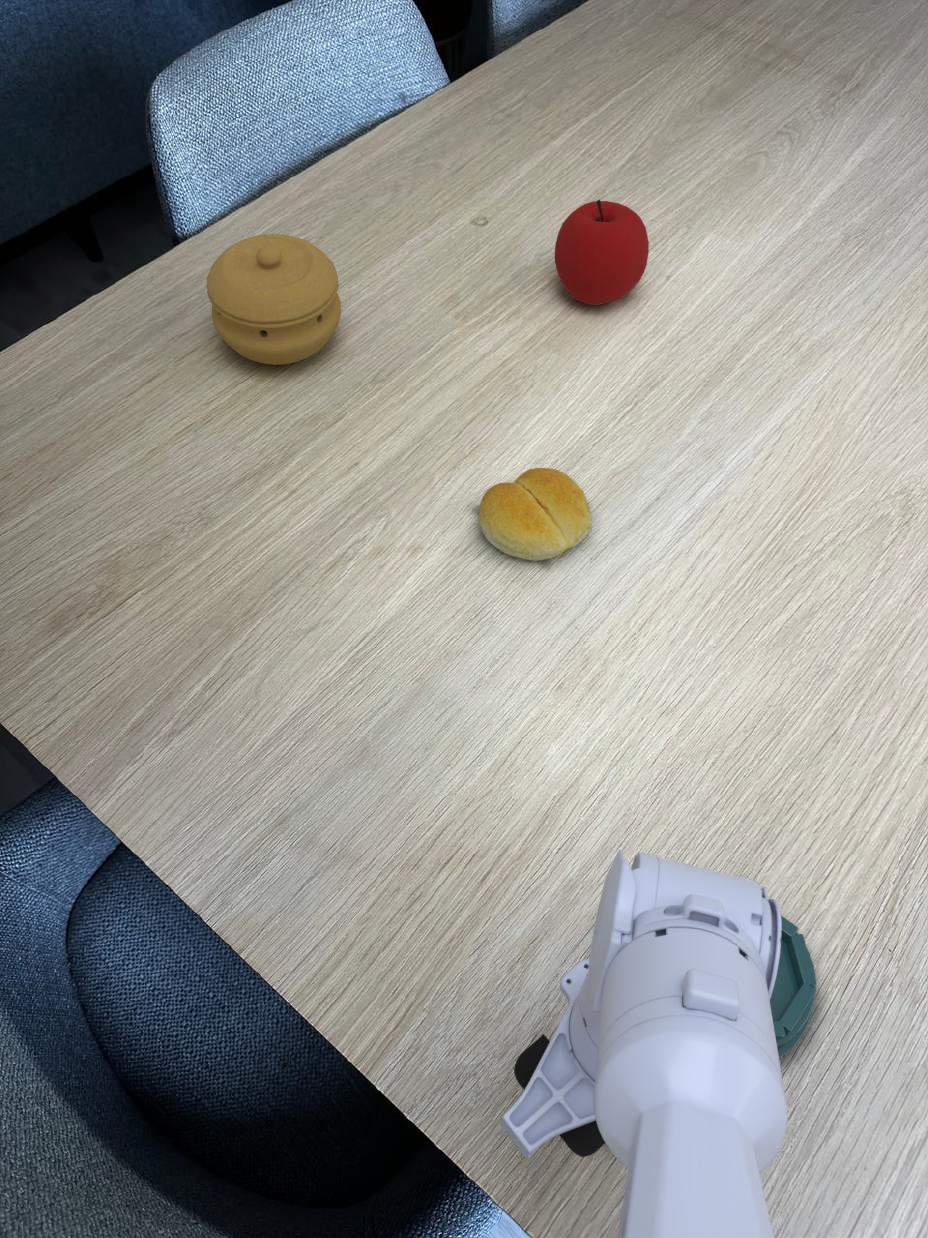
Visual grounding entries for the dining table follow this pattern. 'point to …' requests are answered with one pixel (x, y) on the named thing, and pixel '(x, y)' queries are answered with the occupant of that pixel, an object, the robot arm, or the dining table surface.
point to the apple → (601, 252)
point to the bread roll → (535, 515)
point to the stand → (792, 989)
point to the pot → (274, 298)
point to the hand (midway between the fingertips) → (602, 1075)
